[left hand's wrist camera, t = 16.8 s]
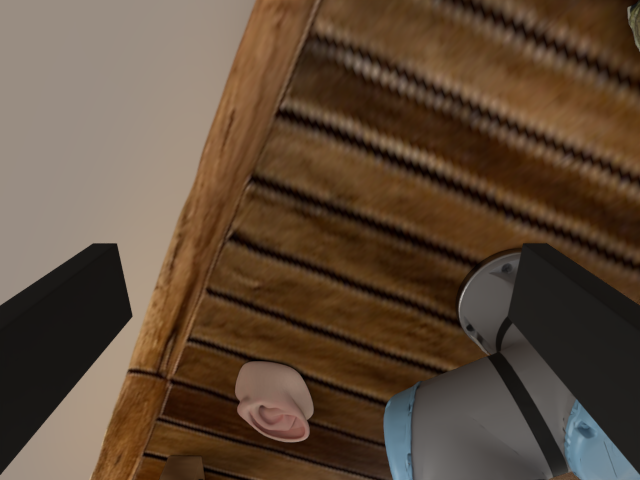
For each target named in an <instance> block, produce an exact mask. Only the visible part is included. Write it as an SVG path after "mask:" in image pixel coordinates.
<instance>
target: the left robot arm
mask: <svg viewBox="0 0 640 480" xmlns="http://www.w3.org/2000/svg"><path fill="white" fill-rule="evenodd" d="M456 314H457V317H458V320H459V322H460V324H461V326H462V328H463V329H464V331H465V332H466V334H467V335H468V336H469V337H470V338H471V339H472V340H473V341H474V342H475V343H476V344H477V345H478V346H479V347H480V348H481V349H482V351H484V352H485V353H487V351H488V352H489V353H490V354H492V355H489V354H488V353H487V354H488V355H489V356H487V357H484V358H481V359H479V360H476V361H474V362H472V363H469V364H467V365H464V366H462V367H459V368H457V369H454V370H452V371H449V372H446V373H444V374H441V375H439V376H436V377H433V378H431V379H428V380H426V381H419V382H417V383H416V384H415V385H414V386H413V387H411V388H409V389H406V390H404V391H402V392H400V393H398V394H396V395H394V396H393V397H392V398H391V399H390V400H389V401H388V403H387V406H386V409H385V414H384V436H385V444H386V450H387V456H388V460H389V465H390V469H391V473H392V477H393V480H548V479H550V478H553V477H556V476H559V475H562V474H565V473H568V472H571V471H573V473H574V475H576V476H577V477H578V478H579V479H581V480H640V305H638V304H637V303H635V302H634V301H632V300H631V299H629V298H628V297H626V296H625V295H623V294H622V293H620V292H619V291H617V290H616V289H614V288H613V287H611V286H610V285H608V284H607V283H605V282H604V281H602V280H601V279H599V278H598V277H596V276H595V275H593V274H592V273H590V272H589V271H587V270H586V269H584V268H583V267H581V266H580V265H578V264H577V263H575V262H574V261H572V260H571V259H569V258H568V257H566V256H565V255H563V254H562V253H560V252H559V251H557V250H556V249H554V248H553V247H551V246H550V245H548V244H547V243H523V246H522V249H512V250H507V251H503V252H500V253H497V254H495V255H493V256H490V257H489V258H487V259H485V260H484V261H482V262H481V263H479V264H478V265H477V266H476V267H475V268H473V269H472V270H471V271H470V273H469V274H468V275H467V276H466V278H465V279H464V281H463V282H462V284H461V286H460V288H459V291H458V294H457V298H456ZM131 318H132V311H131V307H130V302H129V297H128V293H127V288H126V283H125V279H124V274H123V270H122V265H121V260H120V256H119V251H118V246H117V244H116V243H94V244H92V245H90V246H89V247H87V248H86V249H84V250H83V251H81V252H80V253H78V254H77V255H75V256H74V257H72V258H71V259H69V260H68V261H66V262H65V263H63V264H62V265H60V266H59V267H57V268H56V269H54V270H53V271H51V272H50V273H48V274H47V275H45V276H44V277H42V278H41V279H39V280H38V281H36V282H35V283H33V284H32V285H30V286H29V287H27V288H26V289H24V290H23V291H21V292H20V293H18V294H17V295H15V296H14V297H12V298H11V299H9V300H8V301H6V302H5V303H3V304H2V305H0V475H1V474H2V472H3V471H4V470H5V469H6V468H7V466H8V465H9V464H10V463H11V461H12V460H13V459H14V458H15V457H16V456H17V454H18V453H19V452H20V451H21V450H22V448H23V447H24V446H25V445H26V444H27V442H28V441H29V440H30V439H31V437H32V436H33V435H34V434H35V433H36V432H37V430H38V429H39V428H40V427H41V425H42V424H43V423H44V422H45V421H46V420H47V418H48V417H49V416H50V415H51V414H52V412H53V411H54V410H55V409H56V408H57V406H58V405H59V404H60V403H61V402H62V400H63V399H64V398H65V397H66V396H67V394H68V393H69V392H70V391H71V390H72V388H73V387H74V386H75V385H76V384H77V382H78V381H79V380H80V379H81V378H82V376H83V375H84V374H85V373H86V372H87V370H88V369H89V368H90V367H91V366H92V364H93V363H94V362H95V361H96V360H97V358H98V357H99V356H100V355H101V354H102V352H103V351H104V350H105V349H106V348H107V346H108V345H109V344H110V343H111V342H112V340H113V339H114V338H115V337H116V336H117V334H118V333H119V332H120V331H121V330H122V328H123V327H124V326H125V325H126V324H127V322H128V321H129V320H130V319H131Z"/></svg>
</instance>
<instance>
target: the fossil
mask: <svg viewBox="0 0 640 480" xmlns="http://www.w3.org/2000/svg"><path fill="white" fill-rule="evenodd" d="M628 20H629V25H630V27H631V28H632V31H633V34H634V38H635V43H636V46H637V47H638V49H639V51H640V0H639V1H638V2H637V3H636V4H635V5H632V6H630V7H628Z"/></svg>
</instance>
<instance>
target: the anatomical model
mask: <svg viewBox="0 0 640 480" xmlns="http://www.w3.org/2000/svg"><path fill="white" fill-rule="evenodd" d="M235 393H236V396H237V398H238V399H239V400H240V401H241V402H240V404H239V405H238V409H237V410H238V413H239V415H240V416H241V417H242V418H243V419H245V420H246V421H247V422H248V423H249V424H250V425H251V426H253V427H254V428H255V429H256V430H257V431H259V432H260V433H262V434H263V435H265V436H267V437H269V438H272V439H275V440H279V441H284V442H298V441H302V440H305V439H306V438H307V437H308V435H309V425H308V422H307V420H308V419H309V418H310V417H311V416H312V414H313V411H314V408H313V402H312V399H311V396H310V393H309V391H308V388H307V386H306V384H305V382H304V380H303V379H302V377H301V376H300V374H299V373H298V372H297V371H296V370H294V369H292V368H291V367H288V366H286V365H282V364H278V363H273V362H264V361H252V362H248V363H246V364H244V365H243V366H242V368H241V370H240V372H239V375H238V378H237V381H236V389H235Z"/></svg>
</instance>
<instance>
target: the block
mask: <svg viewBox="0 0 640 480" xmlns="http://www.w3.org/2000/svg"><path fill="white" fill-rule="evenodd" d="M199 479H203V480H205V475H204V469H203V463H202V457H201V456H169V457H168V460H167V462H166V465H165V467H164V469H163V472H162V474H161V477H160V479H159V480H199Z"/></svg>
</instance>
